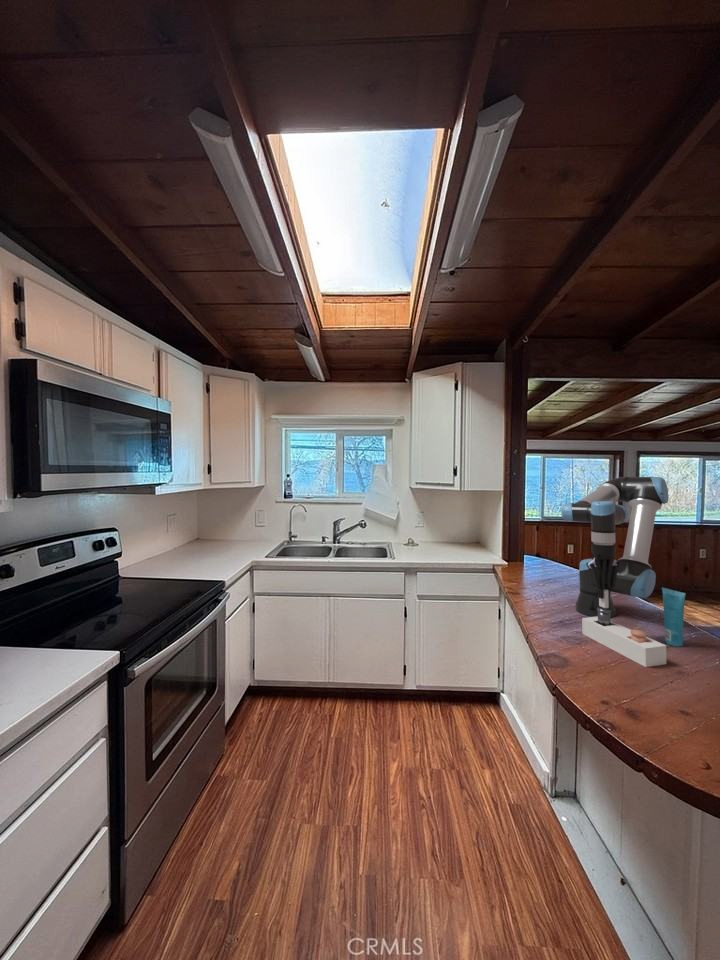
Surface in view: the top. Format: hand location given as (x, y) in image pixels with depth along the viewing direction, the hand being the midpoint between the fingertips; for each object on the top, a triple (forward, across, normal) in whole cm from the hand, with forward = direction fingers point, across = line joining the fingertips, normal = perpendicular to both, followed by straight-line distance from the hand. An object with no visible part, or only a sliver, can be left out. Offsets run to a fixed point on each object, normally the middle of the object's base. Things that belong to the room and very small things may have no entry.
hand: (603, 606), depth 141 cm
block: (+12, 0, +7) cm, 14 cm away
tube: (+12, -21, +9) cm, 26 cm away
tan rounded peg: (+11, 0, +14) cm, 18 cm away
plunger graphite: (+8, 0, 0) cm, 8 cm away
